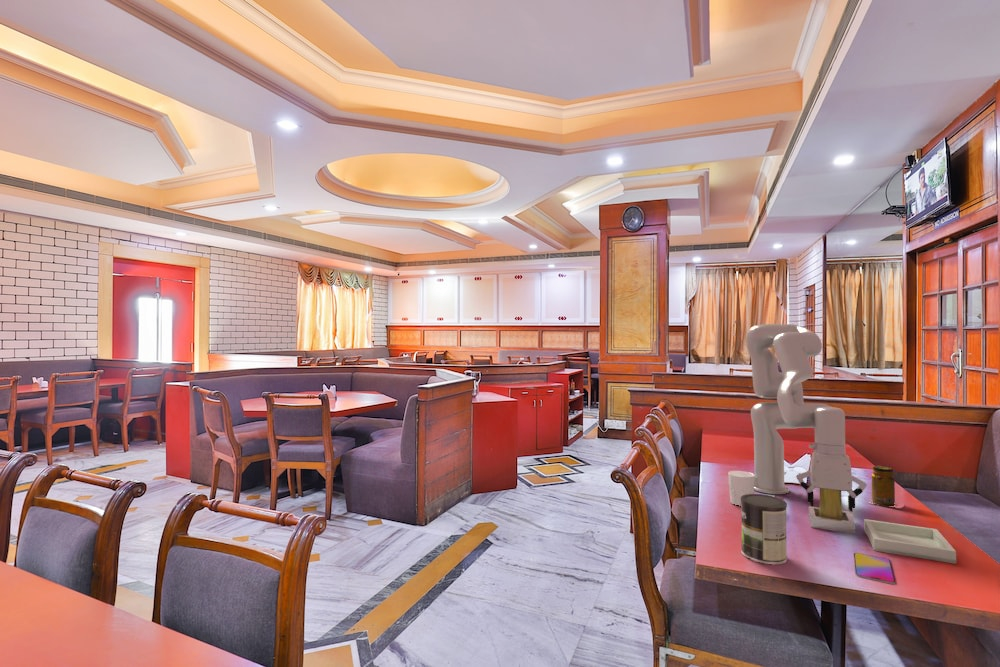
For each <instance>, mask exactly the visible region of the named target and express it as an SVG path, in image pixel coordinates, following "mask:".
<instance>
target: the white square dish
mask: <svg viewBox="0 0 1000 667" xmlns="http://www.w3.org/2000/svg"><path fill="white" fill-rule="evenodd" d="M842 515H843V520H838V519H831V518H824V517H819V507H816V506H813V507H812V506H811V505H809V506H808V519H809V523H810V526H811V528H813V529H819V530H827V531H833V532H840V533H844V534H846V533H847V534H853V535H855V534H856V523H855V521H854V518H853V516H852V513H851V512H850V511H847V510H846V511H845V510H842Z"/></svg>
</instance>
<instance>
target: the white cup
mask: <svg viewBox="0 0 1000 667" xmlns="http://www.w3.org/2000/svg"><path fill="white" fill-rule="evenodd" d="M727 473H728V474H727V476H728V488H729V499H730V504H731V505H733V504H735V505H734V506H736V505H739V506H738V507H740V506H741V496H743V495H746V494H755V490H754V479H755V475H754V473H752V472H749V471H746V470H745V471H744V470H730V471H728V472H727Z"/></svg>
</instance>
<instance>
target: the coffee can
mask: <svg viewBox="0 0 1000 667" xmlns="http://www.w3.org/2000/svg"><path fill="white" fill-rule="evenodd" d="M787 507H788V503H787V501H785V500H783V499H782V498H780V497H777V496H773V495H770V494H769V495H767V494H764V493H763V494H762V493H754V494H746V495H743V496H741V507H740V508H741V551H740V552H741V554H742V555H743V557H745V556H746V557H747V558H746V557H745V558H746V559H748V558H750V559H751V560H750V559H749V560H750V561H752V560H754V561H753V562H755V561H757V562H756V563H758V562H760V563H759V564H762V563H764V565H769V564H772V565H773V566H774V565H775V566H777V565H778V564H779V565H783V563H784V564H786V562H787V561H788V558H787V556H788V555H787ZM772 565H771V566H772ZM779 565H778V566H779Z"/></svg>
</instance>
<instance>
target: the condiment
mask: <svg viewBox="0 0 1000 667" xmlns="http://www.w3.org/2000/svg"><path fill="white" fill-rule="evenodd" d="M893 471H894V469H893V468H892V467H889V466H883V465H873V467H872V473H871V501H872V502H873V503H875V504H878V505H877V506H879V505H882V506H881V507H887V506H894V505H895V504H894V503H896V497H895V495H896V492H895V490H896V488H895V485H896V483H895V481H896V480H895V477H894V472H893ZM873 503H871V502H870V501H868V502H867V504H872V505H874V504H873ZM887 508H888V507H887ZM890 508H891V509H895V510H896V509H897V510H901V509H902V508H899V509H898V508H894V507H889V509H890Z"/></svg>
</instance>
